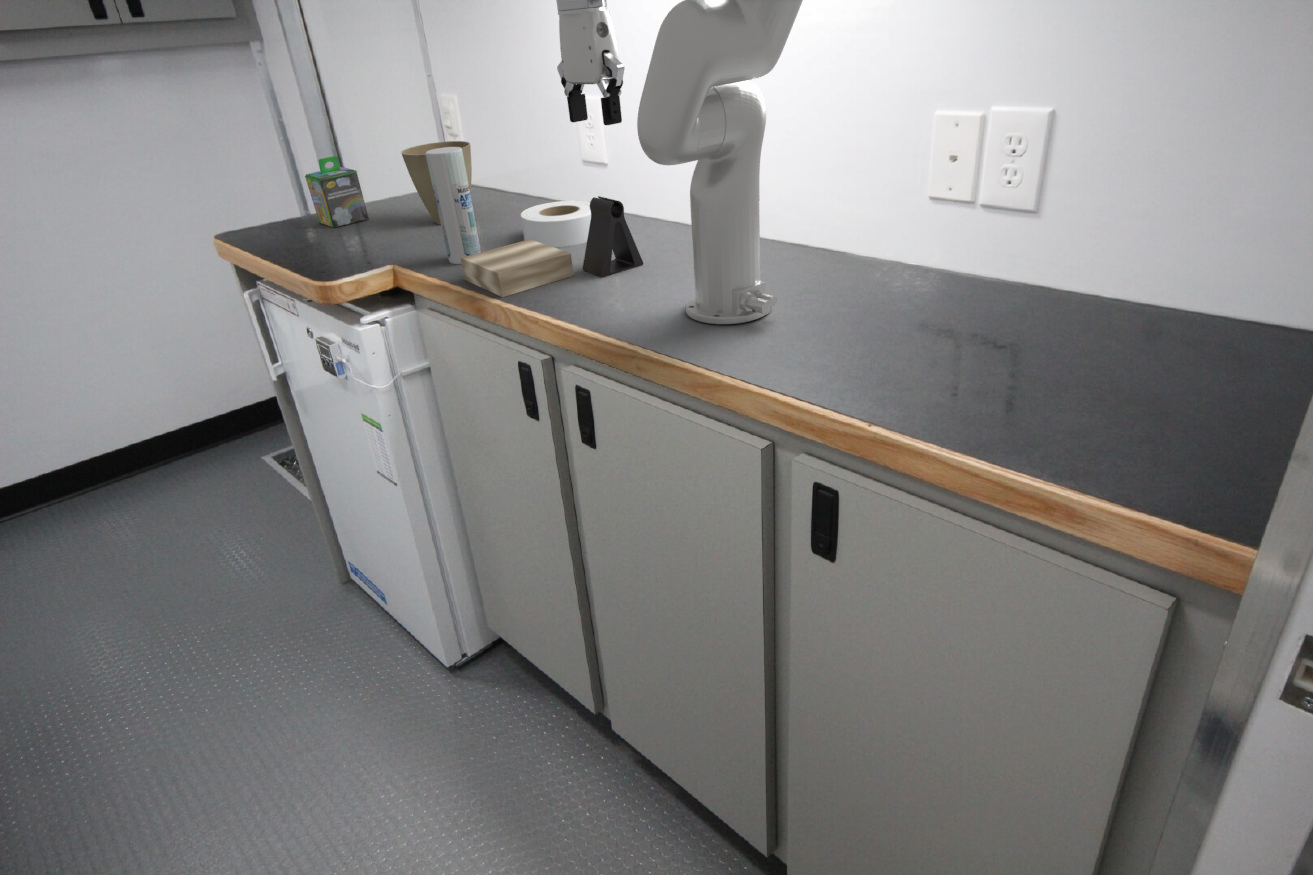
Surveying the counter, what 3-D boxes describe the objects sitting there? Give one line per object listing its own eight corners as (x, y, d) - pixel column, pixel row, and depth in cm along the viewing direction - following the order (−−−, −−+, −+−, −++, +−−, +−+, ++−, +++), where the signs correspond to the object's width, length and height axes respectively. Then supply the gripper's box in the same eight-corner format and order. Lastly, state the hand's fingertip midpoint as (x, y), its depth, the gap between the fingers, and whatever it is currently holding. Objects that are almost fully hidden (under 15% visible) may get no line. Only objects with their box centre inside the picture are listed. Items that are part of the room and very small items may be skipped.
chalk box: (354, 215, 194) (337, 151, 186) (370, 219, 188) (353, 154, 180) (317, 223, 188) (298, 159, 181) (333, 229, 182) (314, 162, 175)
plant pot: (416, 218, 185) (400, 147, 177) (479, 209, 188) (466, 138, 180) (419, 233, 172) (402, 157, 165) (487, 222, 176) (473, 147, 168)
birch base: (573, 275, 137) (570, 253, 135) (502, 297, 130) (498, 273, 128) (533, 260, 147) (529, 239, 145) (464, 279, 140) (460, 257, 138)
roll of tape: (616, 235, 159) (613, 207, 156) (547, 253, 151) (542, 224, 149) (578, 222, 170) (574, 196, 167) (511, 238, 163) (507, 211, 160)
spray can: (456, 254, 155) (434, 147, 145) (487, 253, 154) (467, 146, 144) (442, 264, 149) (418, 154, 140) (474, 264, 148) (452, 152, 138)
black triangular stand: (601, 278, 135) (593, 207, 129) (582, 271, 139) (573, 202, 133) (643, 265, 139) (637, 196, 134) (624, 258, 144) (617, 191, 138)
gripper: (635, -4, 115) (646, 121, 123) (571, 3, 128) (585, 117, 136) (592, 0, 111) (607, 129, 120) (531, 7, 124) (548, 123, 132)
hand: (595, 122), depth 128 cm, fingers open, 9 cm apart
